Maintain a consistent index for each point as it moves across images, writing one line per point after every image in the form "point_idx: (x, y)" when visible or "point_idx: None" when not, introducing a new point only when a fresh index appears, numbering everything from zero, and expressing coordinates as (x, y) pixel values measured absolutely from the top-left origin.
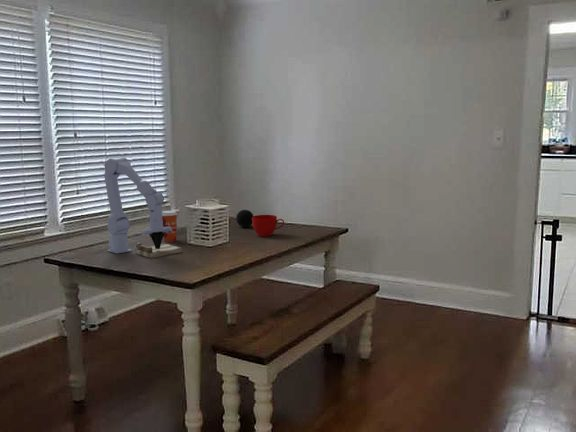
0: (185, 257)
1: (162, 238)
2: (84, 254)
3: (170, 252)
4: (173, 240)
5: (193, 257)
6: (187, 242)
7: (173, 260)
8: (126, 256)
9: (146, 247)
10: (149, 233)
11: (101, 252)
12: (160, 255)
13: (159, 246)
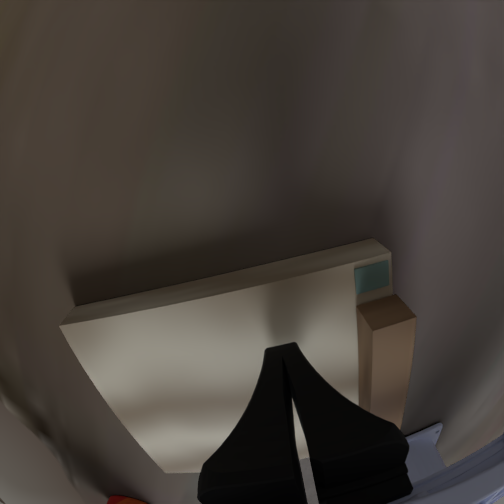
0: (87, 85)
1: (236, 427)
2: (492, 429)
3: (166, 294)
4: (119, 498)
5: (40, 62)
6: (59, 459)
7: (227, 18)
8: (450, 362)
9: (409, 353)
10: (450, 474)
11: (449, 448)
12: (279, 263)
13: (275, 356)
